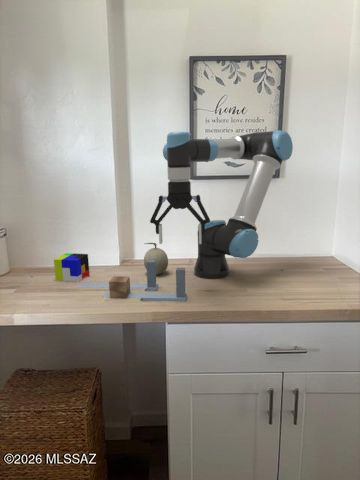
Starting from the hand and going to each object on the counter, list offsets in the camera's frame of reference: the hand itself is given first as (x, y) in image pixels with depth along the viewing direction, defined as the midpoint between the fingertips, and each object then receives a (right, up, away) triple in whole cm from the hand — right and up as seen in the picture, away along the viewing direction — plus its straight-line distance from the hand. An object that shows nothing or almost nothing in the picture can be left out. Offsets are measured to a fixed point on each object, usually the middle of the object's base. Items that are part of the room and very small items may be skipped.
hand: (180, 243), depth 121 cm
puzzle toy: (-45, -16, +27) cm, 55 cm away
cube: (-22, -19, +6) cm, 29 cm away
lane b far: (-31, -18, +16) cm, 39 cm away
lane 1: (-15, -18, +15) cm, 28 cm away
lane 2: (-13, -20, +5) cm, 24 cm away
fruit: (-10, -14, +33) cm, 37 cm away
